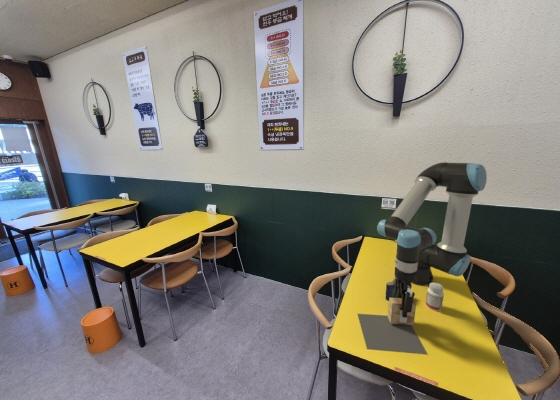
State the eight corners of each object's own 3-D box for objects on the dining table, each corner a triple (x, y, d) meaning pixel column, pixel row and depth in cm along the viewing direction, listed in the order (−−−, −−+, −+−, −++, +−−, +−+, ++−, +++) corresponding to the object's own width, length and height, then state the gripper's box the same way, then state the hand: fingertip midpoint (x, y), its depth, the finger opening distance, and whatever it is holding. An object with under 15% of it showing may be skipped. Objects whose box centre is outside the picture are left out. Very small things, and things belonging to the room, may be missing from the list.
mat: (406, 317, 97) (407, 316, 97) (427, 355, 79) (427, 354, 79) (357, 314, 100) (357, 313, 100) (366, 349, 82) (367, 349, 82)
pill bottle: (432, 301, 106) (435, 280, 103) (444, 310, 100) (448, 288, 97) (422, 304, 104) (424, 283, 102) (433, 313, 99) (437, 291, 96)
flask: (396, 293, 112) (398, 274, 110) (402, 296, 110) (404, 277, 107) (383, 299, 109) (385, 279, 106) (388, 302, 106) (390, 283, 104)
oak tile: (410, 318, 94) (412, 298, 92) (413, 325, 91) (416, 304, 89) (387, 317, 96) (389, 297, 93) (390, 323, 92) (392, 303, 90)
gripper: (388, 257, 96) (385, 303, 102) (404, 280, 80) (398, 333, 86) (407, 258, 95) (402, 304, 100) (426, 281, 79) (419, 335, 85)
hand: (400, 317), depth 93 cm, fingers closed on oak tile, 4 cm apart
